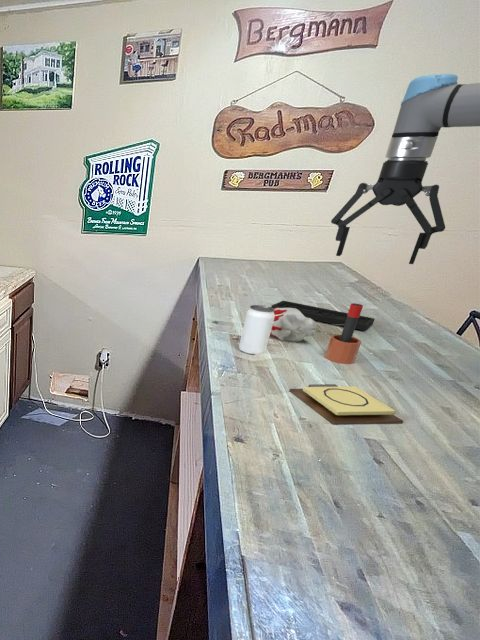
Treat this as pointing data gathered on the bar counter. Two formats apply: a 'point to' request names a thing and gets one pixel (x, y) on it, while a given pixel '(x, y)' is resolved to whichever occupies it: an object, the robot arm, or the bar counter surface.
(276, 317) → the grey lumpy piece
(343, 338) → the marker
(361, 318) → the black long bar
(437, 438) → the bar counter surface
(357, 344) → the pen cup
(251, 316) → the can
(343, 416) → the clipboard
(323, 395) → the notepad
